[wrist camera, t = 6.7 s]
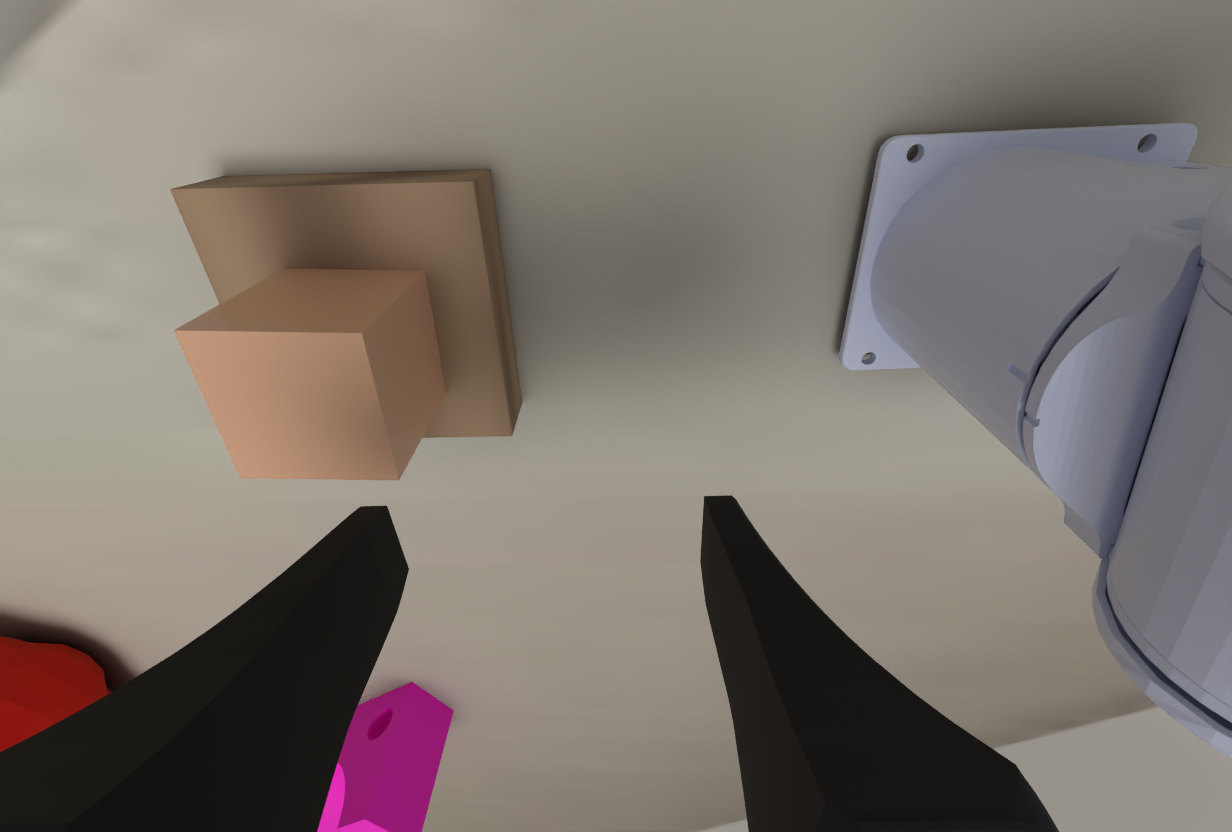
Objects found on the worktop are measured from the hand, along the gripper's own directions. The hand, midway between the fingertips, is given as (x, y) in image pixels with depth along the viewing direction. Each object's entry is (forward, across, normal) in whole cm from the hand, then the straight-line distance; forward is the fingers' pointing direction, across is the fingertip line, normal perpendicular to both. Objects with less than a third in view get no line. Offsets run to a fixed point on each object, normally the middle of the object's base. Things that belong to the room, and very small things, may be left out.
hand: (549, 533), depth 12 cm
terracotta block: (+8, +7, -2) cm, 11 cm away
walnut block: (+11, +7, -2) cm, 13 cm away
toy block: (+11, +17, +29) cm, 35 cm away
